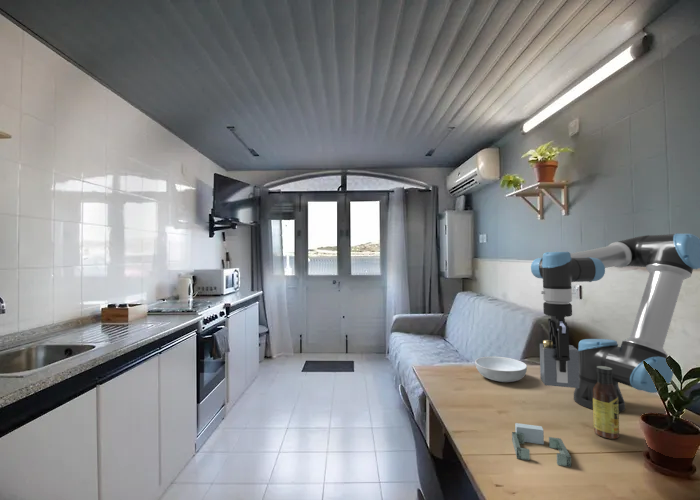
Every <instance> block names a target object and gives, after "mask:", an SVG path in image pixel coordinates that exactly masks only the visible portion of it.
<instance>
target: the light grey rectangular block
mask: <svg viewBox="0 0 700 500" xmlns="http://www.w3.org/2000/svg"><path fill="white" fill-rule="evenodd" d="M514 430H515V431H514V432H516V433H523V434H524V443H532V444H537V445H545V441H544V431H545V430H544V428H543V426H541V425H533V424H526V423H518V422H515V428H514Z"/></svg>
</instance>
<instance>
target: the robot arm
mask: <svg viewBox="0 0 700 500" xmlns="http://www.w3.org/2000/svg"><path fill="white" fill-rule="evenodd" d="M612 267H615V268H626V267H634V268H636V267H637V268H645V269H646V271H647V272H649V274H648V278H647V282H646V284H645V287H644V291H643V294H642V297H641V301H640V303H639V307H638V309H637V313H636V316H635V319H634V323H633V324H632V329H631V333H630V335H629V338H626V339H623V340H622V342H621V345H620V346H619V344H618V342H617V340H614V339H607V338H584V339H581V340H580V341H579V342H578V347H577V350H578V353H579V388H574V391H573V401H574V402H575V403H577V404H578V405H580V406H583V407H584V408H588V409H591V410H593V388H594V386H595V385H596V383H597V382H598V381H597V371H596V367H597V366H606V367H610V368H612V369H613V374H612V381H613V385H614V388H615V390H616V392H617V395H618V407H619V413H621V412H623V411H625V410H626V402H625V400H624V397H623V394H622V392H621V389H620V387H619V384H623V385H625V386H628V387H631V388H634V389H635V390H638V391H643V392H647V393H649V394H651V393H652V394H654V393H656V394H657V393H658V392H657V390H656V388H655V385H654V383H653V381H652V379H651V377H650V375H649V374H648V372H647V371H646V369H645V367H644V364H643V361H645V362H646V363H647V364H649V365H650V366H651V367H652V368H654V369H656V370H658V371H659V373H660V374H661V375H662V376H663V377H664V379H665V380H666V382H667V383H669V384H670V383H671V382H672V379H673V375H674V371H673V372H672V371H671V370H672V369H670V367H669V366H668V365H667V363H666V358H667V357H668V353H667V352H666V351H665V349H664V345H665V342H666V340H667V336H668V335H667V334H668V332H669V330H670V326H671V321H672V320H673V319H672V318H673V315H674V312H675V309H676V305H677V302H678V298H679V295H680V292H681V289H682V285H683V282H684V280H687V279H689V278H691V277H692V274H693V271H694V270H698V269H700V238H699V236H698V235H695V234H693V233H678V232H677V233H673V234H672V233H670V234H668V233H667V234H651V235H649V234H647V235H641V236H640V235H639V236H635V237H631V238H627V239H623V240H619V241H618V240H617V241H614V242H611V243H610V244H608V245H607V246H602V247H597V248H593V249H588V250H581V251H575V252H572V253H571V252H569V251H546V252H544V253H543V254H542V257H537V258H535V259H534V260H533V261H532V262H531V266H530V270H531V274H532V276H534V277H535V278H536V279H540V280H542V290H541V291H540V294H541V295H543V296H542V297H543V299H542V300H543V301H544V302H543V307H542V308H543V309H542V310H543V314H544V315H545V316H549V317H550V318H549V317H548V319H547V323H548V340H551V341H553V344H556V349H557V358H554V359H555V360H556V374H557V382H560V383H568V372H567V361H569V360H570V358H569V345H570V340H569V338H570V336H569V334H570V333H569V332H570V327H569V326H568V324H567V322H566V319H565V318H567V317H568V318H569V317H571V316H572V315H573V305H572V303H571V302H573V292H572V291H573V289H572V283H583V282H585V283H586V282H587V283H592V282H597V281H600V280H601V279H602V278H603V277H604V276H605V274H606V269H608V268H612Z"/></svg>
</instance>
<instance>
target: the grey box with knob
mask: <svg viewBox="0 0 700 500" xmlns="http://www.w3.org/2000/svg"><path fill="white" fill-rule="evenodd" d="M554 358H557V349H556V344H553V341H551V340H549V339H544V340H542V343H539V368H540V369H539V370H540V371H539V373H540V380H541V382H542V383H543V385H544V386H549V387H561V388H571V389H573V388H574V389H575V388H579V353H578V348H576V346H574V345H571V344H569V358H570V360H569V361H567V372H568V383H560V382H557V374H556V360H555V359H554Z"/></svg>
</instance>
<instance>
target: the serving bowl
mask: <svg viewBox="0 0 700 500" xmlns="http://www.w3.org/2000/svg"><path fill="white" fill-rule="evenodd" d="M474 363H475V367H476V370H477V371H478V373H479V374H480V375H482V377H484V378H486V379H489V380H490V381H495V382H499V383H511V382H517V381H520V380H521V379H523V378H524V377H525V376H526V374H527V370H528V365H527V364H526V363H525V362H523V361H521V360H519V359H516V358H515V359H514V358H510V357H505V356H483V357H478V358H476V359H475V361H474Z"/></svg>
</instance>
